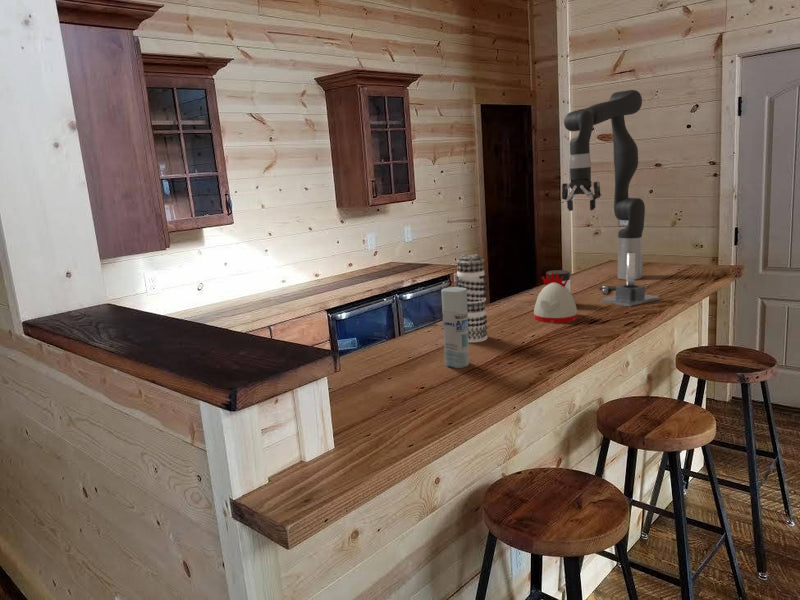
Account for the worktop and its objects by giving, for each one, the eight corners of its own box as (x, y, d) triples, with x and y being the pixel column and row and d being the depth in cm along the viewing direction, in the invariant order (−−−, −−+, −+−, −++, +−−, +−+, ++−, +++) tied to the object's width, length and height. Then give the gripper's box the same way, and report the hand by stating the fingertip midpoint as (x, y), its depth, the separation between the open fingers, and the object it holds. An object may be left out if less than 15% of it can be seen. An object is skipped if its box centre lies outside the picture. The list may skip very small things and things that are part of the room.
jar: (575, 304, 221) (575, 271, 218) (561, 309, 216) (561, 275, 213) (554, 301, 227) (554, 269, 225) (540, 305, 222) (540, 272, 220)
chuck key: (600, 289, 244) (600, 284, 244) (616, 289, 242) (616, 284, 241) (596, 294, 235) (596, 289, 235) (613, 294, 233) (613, 289, 233)
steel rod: (629, 296, 224) (630, 252, 221) (635, 297, 222) (636, 252, 218) (623, 297, 223) (624, 253, 219) (630, 298, 220) (631, 253, 217)
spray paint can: (453, 359, 168) (450, 286, 163) (474, 362, 164) (471, 287, 159) (439, 365, 163) (436, 290, 159) (460, 369, 159) (457, 292, 155)
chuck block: (631, 294, 231) (631, 281, 230) (659, 299, 221) (659, 285, 220) (601, 301, 224) (601, 287, 223) (628, 306, 213) (628, 292, 212)
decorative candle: (479, 332, 192) (476, 252, 187) (494, 339, 184) (491, 255, 178) (452, 337, 189) (449, 255, 184) (466, 344, 180) (463, 258, 175)
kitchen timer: (541, 311, 214) (541, 268, 211) (582, 314, 207) (582, 269, 204) (527, 321, 203) (527, 275, 200) (570, 324, 196) (570, 277, 193)
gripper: (602, 164, 230) (603, 208, 234) (566, 167, 239) (568, 209, 243) (594, 166, 225) (595, 211, 228) (557, 168, 234) (559, 211, 238)
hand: (581, 210), depth 236 cm, fingers open, 8 cm apart
